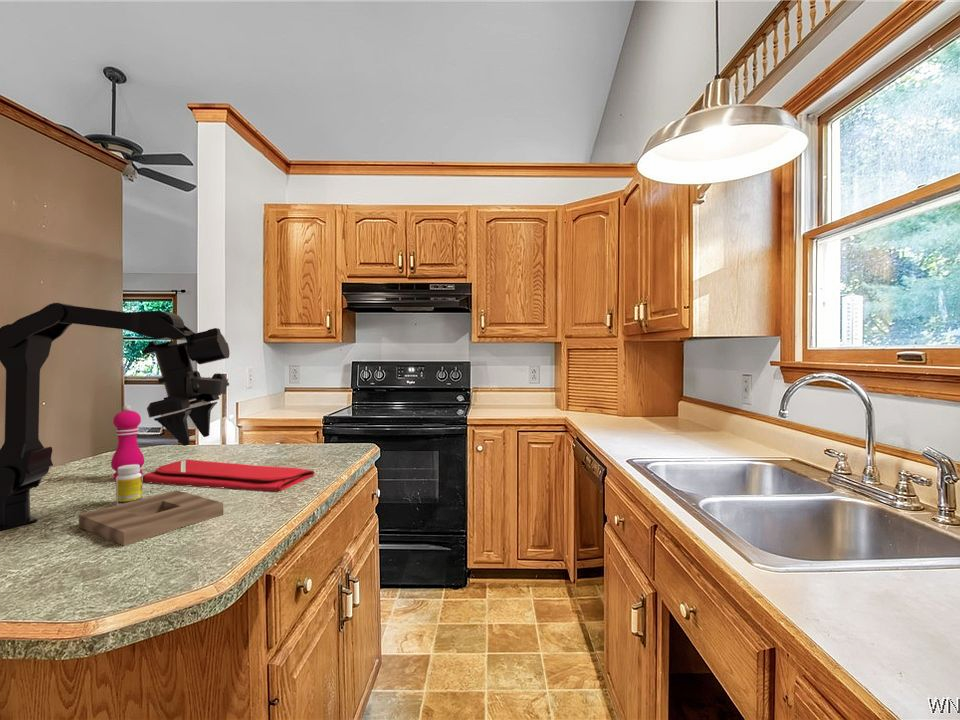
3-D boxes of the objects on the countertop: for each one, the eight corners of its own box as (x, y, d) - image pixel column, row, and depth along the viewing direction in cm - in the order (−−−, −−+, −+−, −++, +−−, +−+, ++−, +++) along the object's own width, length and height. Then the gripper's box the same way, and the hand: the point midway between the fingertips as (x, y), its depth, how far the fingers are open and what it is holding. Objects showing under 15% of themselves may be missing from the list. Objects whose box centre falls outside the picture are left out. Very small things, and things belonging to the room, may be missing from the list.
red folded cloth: (278, 494, 112) (278, 479, 112) (140, 484, 121) (140, 470, 121) (314, 477, 128) (314, 463, 128) (189, 469, 136) (189, 457, 136)
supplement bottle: (146, 502, 105) (145, 465, 105) (121, 508, 101) (120, 470, 101) (136, 498, 108) (136, 462, 108) (112, 504, 104) (111, 467, 104)
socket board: (79, 527, 90) (78, 514, 90) (176, 501, 106) (176, 490, 106) (123, 546, 81) (123, 532, 81) (223, 514, 97) (223, 502, 97)
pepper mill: (140, 473, 130) (139, 402, 130) (148, 477, 126) (147, 404, 125) (108, 479, 125) (106, 405, 124) (115, 483, 120) (113, 407, 120)
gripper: (196, 362, 89) (218, 439, 90) (233, 359, 108) (250, 423, 109) (135, 376, 88) (158, 454, 89) (183, 371, 106) (201, 436, 107)
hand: (197, 440), depth 99 cm, fingers open, 9 cm apart
